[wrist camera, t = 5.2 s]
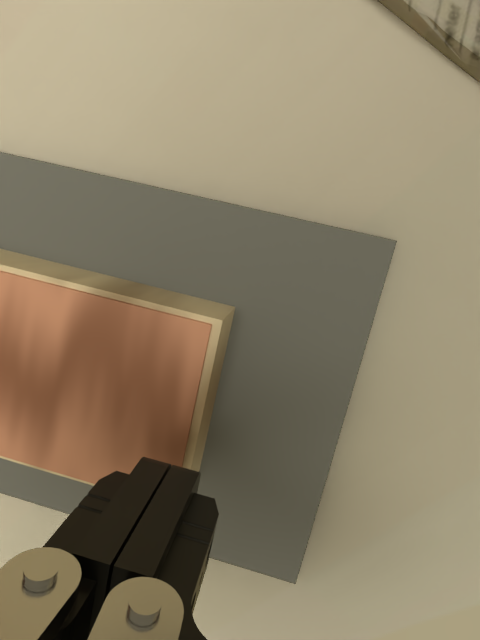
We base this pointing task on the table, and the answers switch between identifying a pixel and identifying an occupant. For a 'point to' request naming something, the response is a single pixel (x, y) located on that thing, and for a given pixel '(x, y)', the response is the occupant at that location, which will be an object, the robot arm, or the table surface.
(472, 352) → the table surface
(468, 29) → the packaged product
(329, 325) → the mat
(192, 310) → the birch tile
